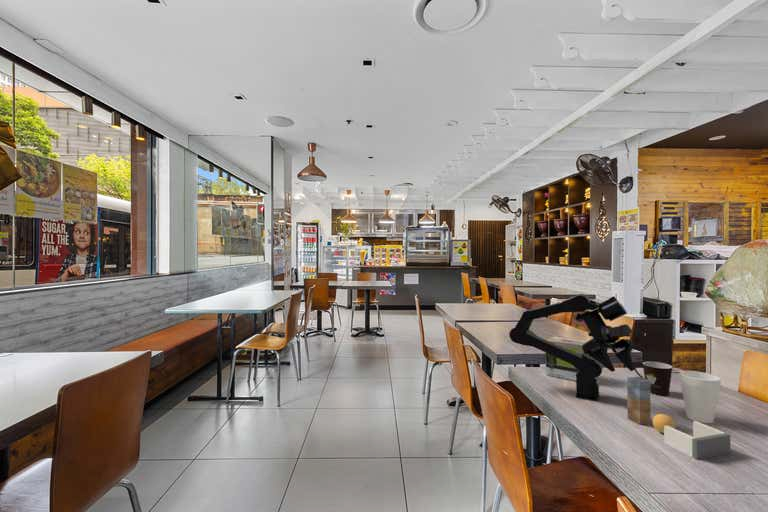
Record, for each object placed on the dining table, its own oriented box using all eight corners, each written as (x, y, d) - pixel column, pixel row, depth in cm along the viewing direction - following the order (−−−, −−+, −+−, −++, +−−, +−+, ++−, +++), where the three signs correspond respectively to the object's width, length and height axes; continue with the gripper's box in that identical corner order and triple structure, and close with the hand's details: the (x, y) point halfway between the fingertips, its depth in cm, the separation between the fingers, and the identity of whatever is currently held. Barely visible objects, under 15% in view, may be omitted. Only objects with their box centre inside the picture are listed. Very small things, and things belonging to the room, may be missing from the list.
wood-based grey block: (627, 418, 111) (627, 377, 111) (638, 417, 112) (637, 376, 112) (639, 424, 107) (639, 381, 107) (650, 423, 108) (650, 380, 108)
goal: (664, 443, 96) (664, 425, 96) (696, 437, 99) (695, 421, 99) (696, 459, 89) (696, 440, 89) (730, 453, 91) (730, 434, 91)
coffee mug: (679, 397, 128) (678, 368, 128) (653, 397, 128) (653, 368, 128) (655, 385, 139) (654, 359, 139) (632, 385, 139) (631, 359, 139)
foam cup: (711, 428, 105) (711, 382, 105) (673, 415, 113) (673, 373, 113) (726, 421, 109) (726, 377, 109) (689, 409, 117) (689, 369, 117)
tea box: (592, 377, 149) (591, 341, 149) (585, 383, 142) (584, 345, 142) (553, 369, 159) (553, 335, 159) (545, 375, 152) (544, 339, 152)
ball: (653, 434, 101) (653, 416, 101) (651, 426, 106) (651, 409, 106) (676, 438, 99) (676, 420, 99) (673, 431, 103) (673, 413, 103)
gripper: (596, 313, 117) (624, 360, 107) (634, 315, 124) (663, 359, 115) (571, 331, 124) (595, 375, 115) (608, 332, 132) (634, 374, 122)
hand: (623, 370), depth 116 cm, fingers open, 9 cm apart
